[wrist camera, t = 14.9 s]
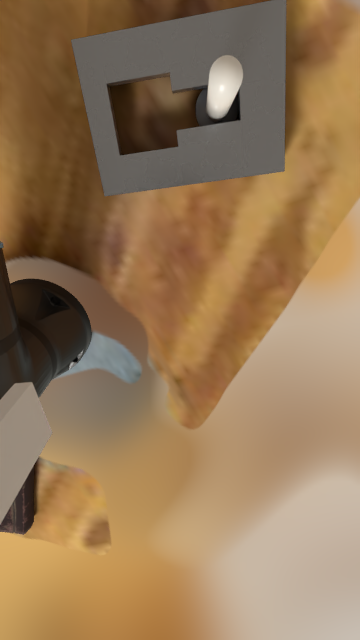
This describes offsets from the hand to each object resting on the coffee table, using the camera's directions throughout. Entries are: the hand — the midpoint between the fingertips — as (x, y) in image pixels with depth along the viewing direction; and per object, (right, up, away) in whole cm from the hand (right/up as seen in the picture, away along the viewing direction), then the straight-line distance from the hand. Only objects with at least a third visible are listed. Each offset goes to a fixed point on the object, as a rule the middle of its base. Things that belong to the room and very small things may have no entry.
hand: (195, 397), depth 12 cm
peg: (+3, +26, +22) cm, 35 cm away
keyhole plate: (0, +26, +23) cm, 35 cm away
